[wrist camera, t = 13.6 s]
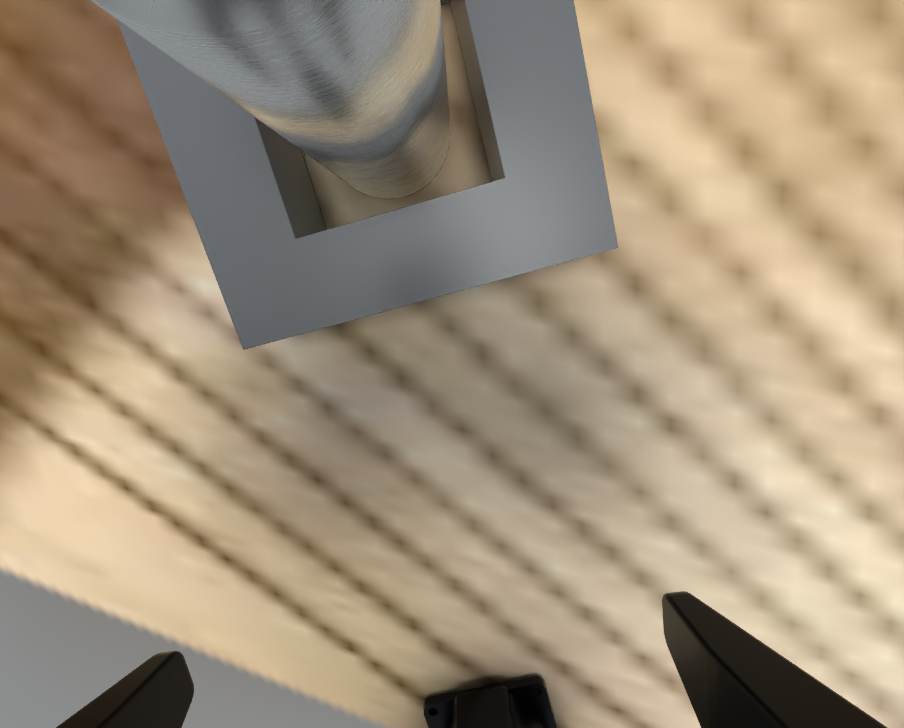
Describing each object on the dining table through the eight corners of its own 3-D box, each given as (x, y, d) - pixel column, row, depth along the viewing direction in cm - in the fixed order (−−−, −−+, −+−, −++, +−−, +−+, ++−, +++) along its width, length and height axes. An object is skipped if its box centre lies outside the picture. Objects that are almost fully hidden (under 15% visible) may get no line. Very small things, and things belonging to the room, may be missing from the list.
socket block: (584, 251, 18) (618, 247, 14) (288, 331, 19) (243, 349, 15) (510, -122, 15) (527, -255, 11) (168, -4, 16) (76, -88, 12)
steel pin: (429, 215, 18) (349, 91, 5) (310, 176, 18) (-84, -52, 5) (466, 83, 17) (484, -488, 4) (340, 40, 16) (-67, -711, 4)
